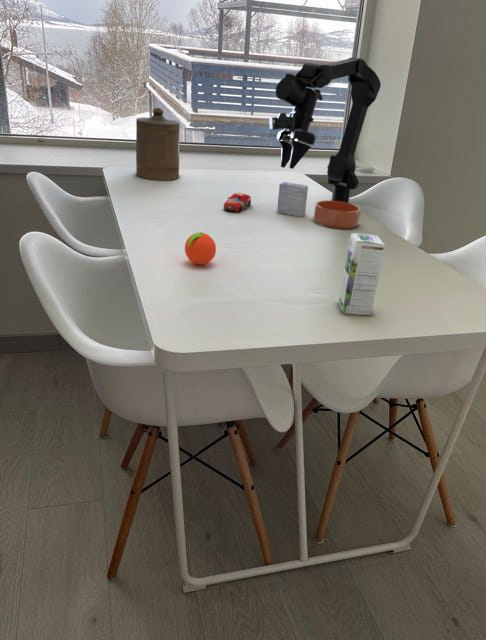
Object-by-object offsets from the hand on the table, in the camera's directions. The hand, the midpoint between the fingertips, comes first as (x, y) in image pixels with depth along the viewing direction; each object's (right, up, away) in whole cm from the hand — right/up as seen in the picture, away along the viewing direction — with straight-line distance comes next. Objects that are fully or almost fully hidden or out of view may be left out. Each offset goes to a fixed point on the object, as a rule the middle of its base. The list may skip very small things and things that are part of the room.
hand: (286, 167), depth 169 cm
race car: (-15, -9, +9) cm, 20 cm away
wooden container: (-45, +11, +38) cm, 60 cm away
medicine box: (+2, -11, +9) cm, 14 cm away
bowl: (+15, -15, +4) cm, 21 cm away
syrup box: (+12, -48, -53) cm, 72 cm away
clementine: (-21, -36, -39) cm, 57 cm away
